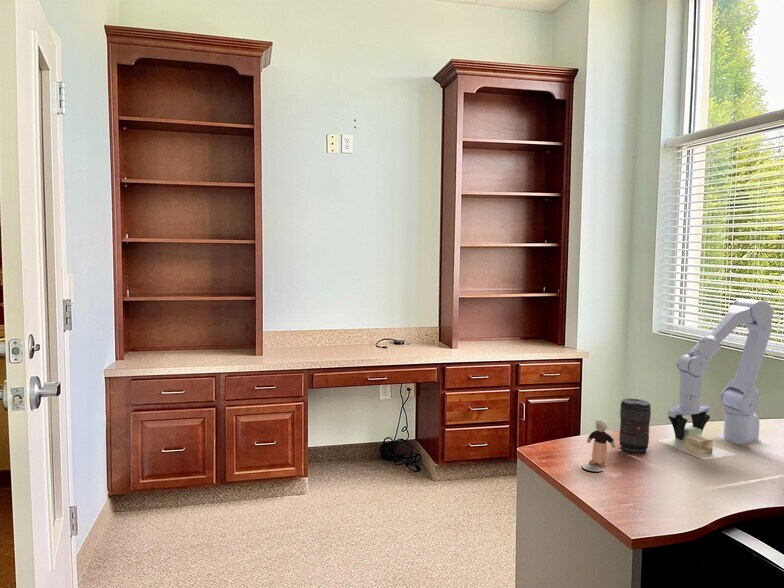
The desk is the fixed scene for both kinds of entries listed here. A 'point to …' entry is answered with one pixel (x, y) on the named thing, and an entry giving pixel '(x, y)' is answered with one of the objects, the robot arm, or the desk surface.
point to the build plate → (681, 446)
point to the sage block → (690, 431)
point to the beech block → (698, 444)
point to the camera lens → (634, 426)
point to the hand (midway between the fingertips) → (688, 437)
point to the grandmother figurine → (600, 443)
